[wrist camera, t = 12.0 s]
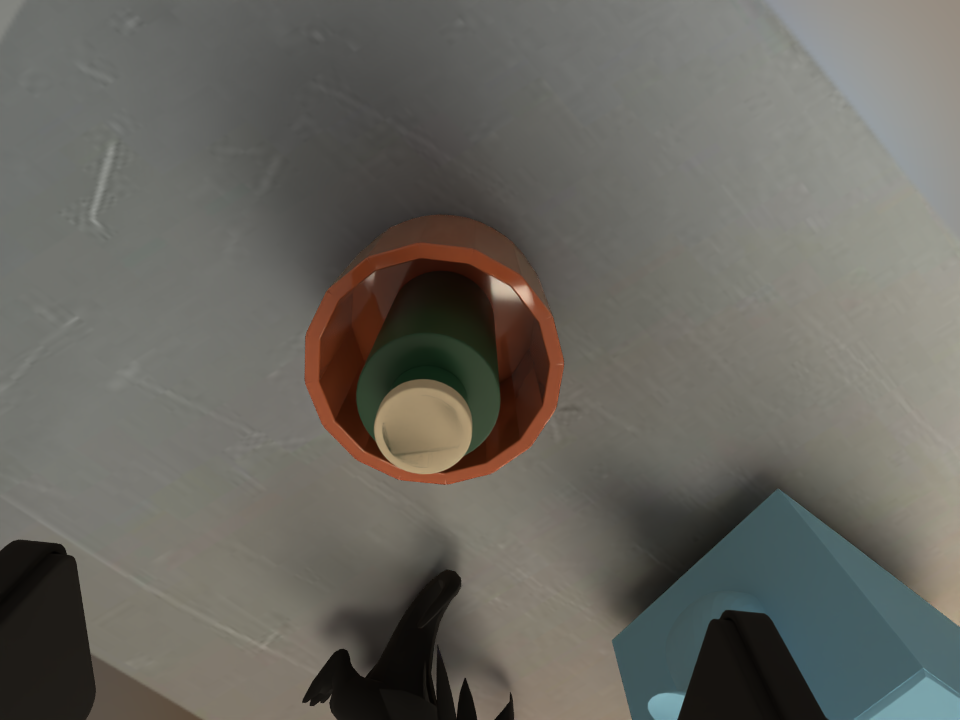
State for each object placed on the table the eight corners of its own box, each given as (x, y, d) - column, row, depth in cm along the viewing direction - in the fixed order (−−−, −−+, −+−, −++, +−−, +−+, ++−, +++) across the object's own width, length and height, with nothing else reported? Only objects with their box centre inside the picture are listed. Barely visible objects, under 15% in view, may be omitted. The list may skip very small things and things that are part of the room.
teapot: (968, 627, 33) (1275, 945, 21) (809, 745, 37) (989, 1087, 24) (667, 395, 29) (823, 623, 16) (513, 555, 32) (537, 856, 19)
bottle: (393, 264, 26) (346, 348, 16) (500, 276, 26) (513, 366, 17) (386, 363, 27) (339, 492, 18) (487, 375, 28) (492, 507, 18)
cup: (347, 202, 25) (307, 229, 19) (558, 227, 26) (583, 261, 20) (339, 395, 29) (302, 471, 22) (527, 415, 29) (541, 494, 23)
